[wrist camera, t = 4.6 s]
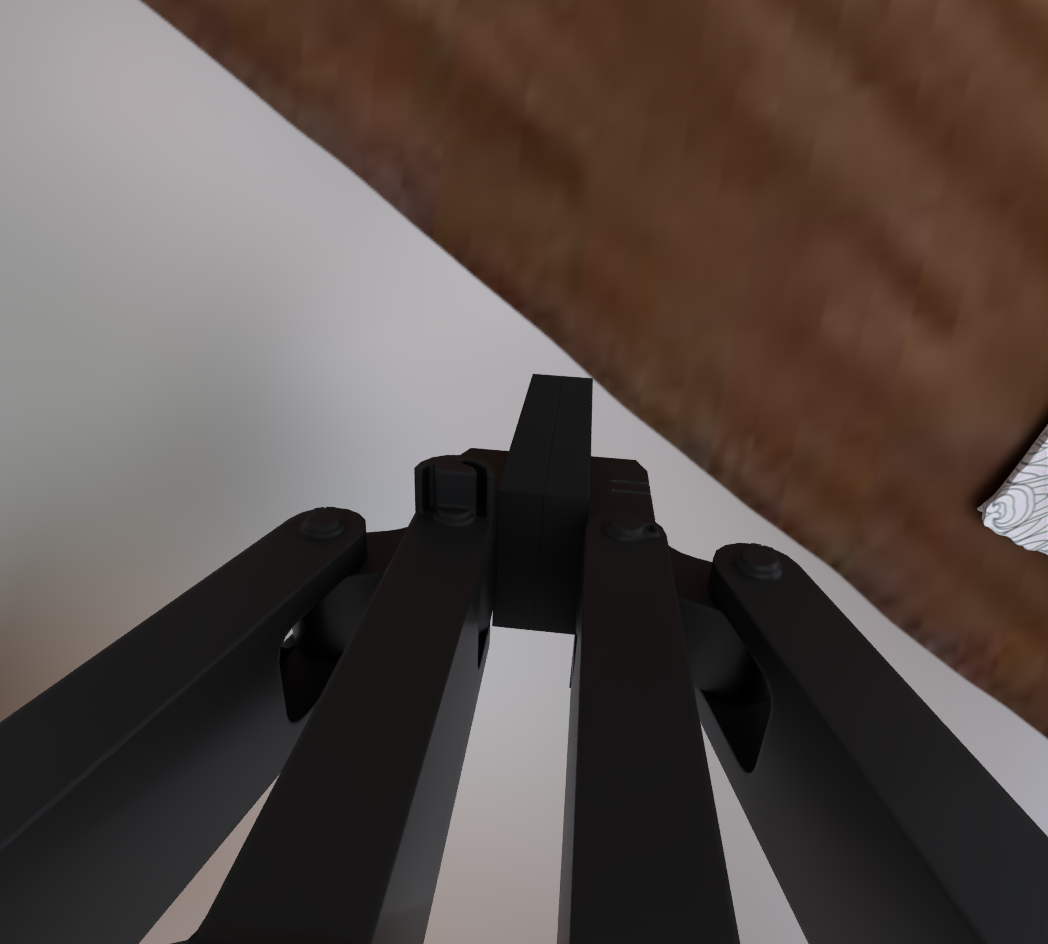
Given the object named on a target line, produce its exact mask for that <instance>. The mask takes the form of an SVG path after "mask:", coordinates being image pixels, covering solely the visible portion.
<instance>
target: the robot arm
mask: <svg viewBox="0 0 1048 944" xmlns="http://www.w3.org/2000/svg"><path fill="white" fill-rule="evenodd" d="M592 383H593V378H580V377H566V376H553V375H540V374H533V376H532V379H531V382H530V385H529V389H528V392H527V395H526V398H525V402H524V405H523V408H522V411H521V414H520V418H519V421H518V424H517V427H516V431H515V434H514V437H513V440H512V444H511V447H510V450H509V451H500V450H487V449H476V448H471V449H469V450H467V451H466V452H464V453H462V454H461V455H445V456H439V457H432V458H430V459H427V460H425V461H422V462H420V463H419V464H418V465H417V466H416V467H415V468H414V469H415V505H416V506H415V507H416V508H415V510H416V513H415V515H414V516H413V518H412V520H411V522H410V524H409V526H408V527H405V528H402V529H397V530H390V531H380V532H369V533H366V523H365V519H364V518H363V517H362V516H361V515H360V514H358V513H356V512H353V511H351V510H348V509H341V508H335V507H326V508H324V507H321V508H315V509H313V510H310V511H306V512H302V513H300V514H298V515H296V516H294V517H292V518H290V519H288V520H287V521H285V522H284V523H283V524H281V525H280V526H279V527H277V528H276V529H274V530H273V531H271V532H270V533H268V534H267V535H266V536H264V537H263V538H261V539H260V540H258V541H257V542H256V543H254V544H253V545H251V546H250V547H249V548H247V549H246V550H244V551H243V552H242V553H240V554H239V555H237V556H236V557H234V558H233V559H232V560H230V561H229V562H227V563H226V564H225V565H223V566H222V567H220V568H219V569H217V570H216V571H214V572H213V573H212V574H210V575H209V576H207V577H206V578H205V579H203V580H202V581H200V582H199V583H198V584H196V585H195V586H193V587H192V588H190V589H189V590H187V591H186V592H185V593H183V594H182V595H180V596H179V597H178V598H176V599H175V600H173V601H172V602H170V603H169V604H168V605H166V606H165V607H163V608H162V609H161V610H159V611H158V612H156V613H155V614H153V615H152V616H151V617H149V618H148V619H146V620H145V621H143V622H142V623H141V624H139V625H138V626H136V627H135V628H134V629H132V630H131V631H129V632H128V633H127V634H125V635H124V636H122V637H121V638H120V639H118V640H117V641H115V642H114V643H112V644H111V645H109V646H108V647H107V648H105V649H104V650H102V651H101V652H99V653H98V654H97V655H95V656H94V657H92V658H91V659H90V660H88V661H87V662H85V663H84V664H82V665H81V666H80V667H78V668H77V669H75V670H74V671H73V672H71V673H70V674H68V675H67V676H65V677H64V678H63V679H61V680H60V681H58V682H57V683H56V684H54V685H53V686H52V687H50V688H49V689H47V690H46V691H44V692H43V693H41V694H40V695H39V696H37V697H36V698H34V699H33V700H32V701H30V702H29V703H27V704H26V705H24V706H23V707H22V708H20V709H19V710H17V711H16V712H14V713H13V714H12V715H10V716H9V717H7V718H6V719H4V720H3V721H2V722H0V944H139V943H140V941H141V940H142V939H143V938H144V937H145V935H146V934H147V933H148V932H149V930H150V929H151V928H152V927H153V926H154V924H155V923H156V922H157V921H158V920H159V918H160V917H161V916H162V915H163V913H164V912H165V911H166V910H167V909H168V908H169V906H170V905H171V904H172V903H173V902H174V900H175V899H176V898H177V897H178V896H179V894H180V893H181V892H182V891H183V890H184V888H185V887H186V886H187V885H188V884H189V882H190V881H191V880H192V879H193V878H194V876H195V875H196V874H197V873H198V871H199V870H200V869H201V868H202V867H203V865H204V864H205V863H206V862H207V861H208V860H209V858H210V857H211V856H212V855H213V853H214V852H215V851H216V850H217V849H218V847H219V846H220V845H221V844H222V843H223V841H224V840H225V839H226V838H227V837H228V835H229V834H230V833H231V832H232V831H233V829H234V828H235V827H236V826H237V824H238V823H239V822H240V821H241V820H242V819H243V817H244V816H245V815H246V814H247V813H248V811H249V810H250V809H251V808H252V807H253V805H254V804H255V803H256V801H258V799H259V798H260V797H261V795H263V793H264V792H265V791H266V790H267V789H268V787H269V786H270V785H271V784H272V783H273V781H274V780H275V779H276V778H277V776H278V775H279V774H280V775H279V777H278V779H277V781H276V783H275V785H274V787H273V789H272V791H271V792H270V794H269V796H268V798H267V800H266V802H265V804H264V806H263V808H262V810H261V812H260V814H259V816H258V818H257V819H256V821H255V823H254V825H253V827H252V829H251V831H250V833H249V835H248V837H247V839H246V841H245V843H244V844H243V847H242V848H241V850H240V852H239V854H238V856H237V858H236V860H235V862H234V864H233V866H232V868H231V870H230V871H229V873H228V875H227V877H226V879H225V881H224V883H223V885H222V887H221V889H220V891H219V893H218V895H217V897H216V899H215V901H214V902H213V904H212V906H211V908H210V910H209V912H208V914H207V916H206V917H205V919H204V920H203V922H202V924H201V925H200V927H199V929H198V930H197V931H196V932H195V933H194V934H193V935H192V936H191V937H190V938H189V939H188V940H186V941H181V942H177V943H172V944H423V942H424V938H425V933H426V929H427V924H428V920H429V915H430V911H431V906H432V902H433V897H434V893H435V888H436V883H437V879H438V875H439V870H440V866H441V861H442V857H443V852H444V847H445V843H446V839H447V834H448V829H449V825H450V820H451V816H452V811H453V807H454V802H455V797H456V793H457V789H458V784H459V780H460V775H461V771H462V766H463V762H464V757H465V753H466V748H467V743H468V739H469V735H470V730H471V726H472V721H473V717H474V712H475V708H476V703H477V698H478V694H479V689H480V685H481V680H482V676H483V671H484V667H485V662H486V658H487V653H488V649H489V640H490V620H491V616H492V611H493V623H492V625H493V626H497V627H506V628H516V629H526V630H535V631H545V632H555V633H564V634H574V635H575V638H574V647H573V657H572V667H571V677H570V688H571V697H570V716H569V733H568V752H567V770H566V788H565V808H564V825H563V844H562V862H561V880H560V898H559V916H558V934H557V944H740V940H739V935H738V930H737V924H736V918H735V913H734V907H733V902H732V896H731V890H730V885H729V880H728V874H727V869H726V863H725V857H724V852H723V846H722V841H721V835H720V829H719V824H718V818H717V813H716V807H715V802H714V796H713V791H712V786H711V780H710V774H709V768H708V763H707V757H706V752H705V747H704V741H703V735H702V730H701V724H702V726H703V728H704V730H705V732H706V734H707V736H708V739H709V740H710V743H711V745H712V746H713V749H714V751H715V753H716V755H717V757H718V759H719V761H720V763H721V765H722V767H723V769H724V771H725V773H726V775H727V777H728V779H729V782H730V784H731V786H732V788H733V790H734V792H735V794H736V796H737V798H738V800H739V802H740V804H741V806H742V808H743V810H744V812H745V814H746V816H747V818H748V820H749V823H750V825H751V826H752V829H753V831H754V833H755V835H756V836H757V839H758V841H759V843H760V845H761V847H762V849H763V851H764V853H765V855H766V857H767V859H768V861H769V864H770V866H771V868H772V870H773V872H774V874H775V876H776V878H777V880H778V882H779V884H780V886H781V888H782V890H783V892H784V894H785V896H786V898H787V900H788V902H789V904H790V907H791V909H792V910H793V913H794V915H795V917H796V919H797V921H798V923H799V925H800V927H801V929H802V931H803V933H804V935H805V937H806V939H807V941H808V943H809V944H1048V837H1047V835H1046V834H1045V833H1044V832H1043V831H1042V830H1041V829H1040V828H1039V827H1038V826H1037V825H1036V823H1035V822H1034V821H1033V820H1032V819H1031V818H1030V817H1029V816H1028V815H1027V814H1026V813H1025V811H1024V810H1023V809H1022V808H1021V807H1020V806H1019V805H1018V804H1017V803H1016V802H1015V801H1014V800H1013V798H1012V797H1011V796H1010V795H1009V794H1008V793H1007V792H1006V791H1005V790H1004V788H1003V787H1002V786H1001V785H1000V784H999V783H998V782H997V781H996V780H995V779H994V778H993V777H992V775H990V773H989V772H988V771H987V770H986V769H985V768H984V767H983V766H982V765H981V763H980V762H979V761H978V760H977V759H976V758H975V757H974V756H973V755H972V754H971V752H969V750H968V749H967V748H966V747H965V746H964V745H963V744H962V743H961V742H960V740H959V739H958V738H957V737H956V736H955V735H954V734H953V733H952V732H951V731H950V730H949V728H948V727H947V726H946V725H945V724H944V723H943V722H942V721H941V720H940V719H939V718H938V716H937V715H936V714H935V713H934V712H933V711H932V710H931V709H930V708H929V707H928V706H927V705H926V703H925V702H924V701H923V700H922V699H921V698H920V697H919V696H918V695H917V694H916V692H915V691H914V690H913V689H912V688H911V687H910V686H909V685H908V684H907V683H906V682H905V681H904V679H903V678H902V677H901V676H900V675H899V674H898V673H897V672H896V671H895V669H894V668H893V667H892V666H891V665H890V664H889V663H888V662H887V661H886V660H885V659H884V657H882V655H881V654H880V653H879V652H878V651H877V650H876V649H875V648H874V647H873V645H872V644H871V643H870V642H869V641H868V640H867V639H866V638H865V637H864V636H863V635H862V634H861V632H860V631H859V630H858V629H857V628H856V627H855V626H854V625H853V624H852V623H851V621H850V620H849V619H848V618H847V617H846V616H845V615H844V614H843V613H842V612H841V611H840V609H839V608H838V607H837V606H836V605H835V604H834V603H833V602H832V601H831V600H830V599H829V598H828V596H827V595H826V594H825V593H824V592H823V591H822V590H821V589H820V588H819V586H818V585H817V584H816V583H815V582H814V581H813V580H812V579H811V578H810V577H809V576H808V575H807V573H806V572H805V571H804V570H803V569H802V568H801V567H800V566H799V565H798V564H797V563H796V562H794V561H793V560H792V559H791V558H790V557H788V556H787V555H785V554H783V553H781V552H779V551H776V550H774V549H773V548H771V547H768V546H761V545H760V544H755V543H751V544H747V543H736V544H729V545H725V546H723V547H721V548H720V549H718V550H716V553H715V555H714V557H713V562H709V561H705V560H702V559H698V558H695V557H692V556H689V555H686V554H683V553H680V552H678V551H677V550H675V549H673V548H671V547H670V546H669V545H668V541H667V536H666V533H665V532H664V530H663V528H662V527H661V526H660V525H659V524H657V523H656V522H655V517H654V511H653V504H652V498H651V495H650V493H651V492H650V486H649V480H648V474H647V471H646V470H645V469H644V468H643V467H642V466H641V465H640V464H639V463H638V462H637V461H636V460H628V459H616V458H604V457H592V456H591V425H592ZM291 628H292V629H293V634H292V635H291V636H290V637H289V638H288V639H286V641H284V639H285V637H286V635H287V634H288V633H289V631H290V630H291ZM700 722H701V724H700Z"/></svg>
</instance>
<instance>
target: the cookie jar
mask: <svg viewBox="0 0 1048 944" xmlns="http://www.w3.org/2000/svg"><path fill="white" fill-rule="evenodd" d="M977 509H978V511H981V512H983V514H982V521H983V523H984V525H985V526H987V527H989V528H990V529H991V530H992V531H994V532H995V533H996V534H999V535H1002V536H1007V537H1009V538H1011V539H1012V540H1013V541H1014V542H1015V543H1016V544H1017V545H1020V546H1023V547H1024V548H1025V549H1026V550H1033V551H1040V552H1043V553H1045V554H1047V555H1048V425H1047V426H1046V427H1045V429H1044V430H1043V431H1042V433H1041V434H1040V435H1039V437H1038V438H1037V439H1036V441H1035V442H1034V444H1033V445H1032V446H1031V448H1030V449H1029V450H1028V452H1027V453H1026V454H1025V456H1024V457H1023V458H1022V460H1021V461H1020V462H1019V464H1018V465H1017V466H1016V468H1015V469H1014V470H1013V471H1012V473H1011V474H1010V475H1009V477H1008V478H1007V479H1006V480H1005V482H1004V483H1003V484H1002V486H1001V487H1000V488H999V489H998V491H997V492H996V493H995V494H994V495H993V496H992V497H990V498H989V499H988V500H987V501H986V502H985V503H983V504H982V505H981V506H980V507H978V508H977Z"/></svg>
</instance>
